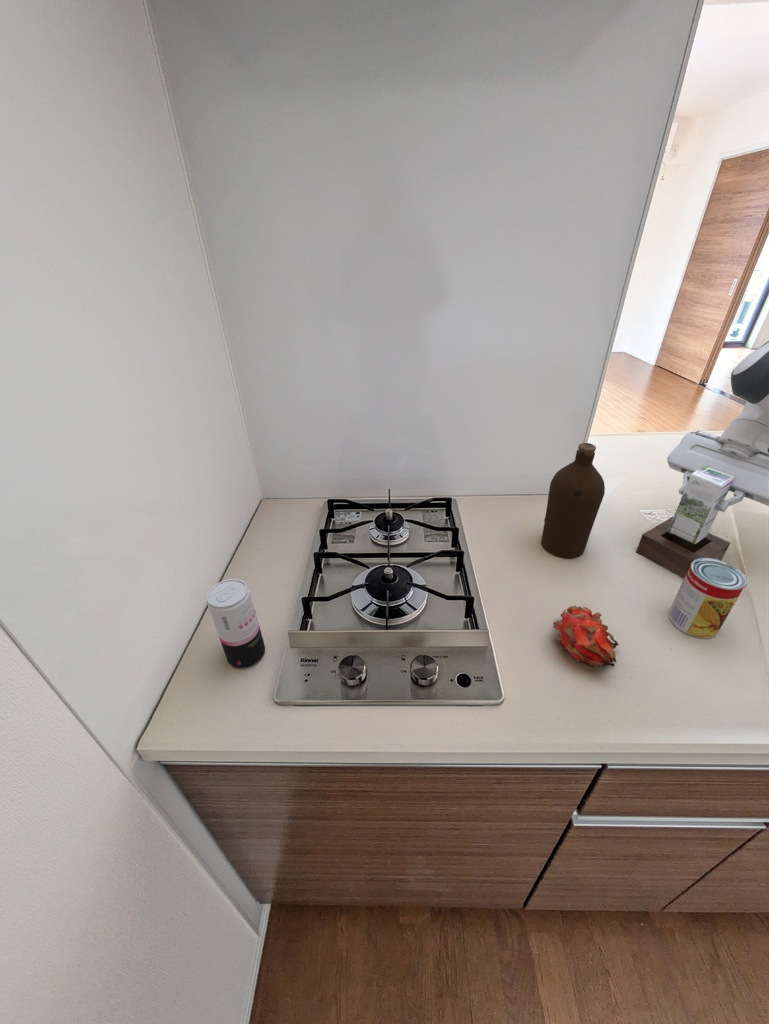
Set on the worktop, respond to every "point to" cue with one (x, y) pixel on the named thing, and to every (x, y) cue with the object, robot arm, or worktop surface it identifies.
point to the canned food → (706, 597)
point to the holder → (678, 548)
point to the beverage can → (236, 622)
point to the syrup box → (700, 504)
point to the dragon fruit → (586, 637)
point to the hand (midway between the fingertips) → (700, 501)
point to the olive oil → (573, 505)
